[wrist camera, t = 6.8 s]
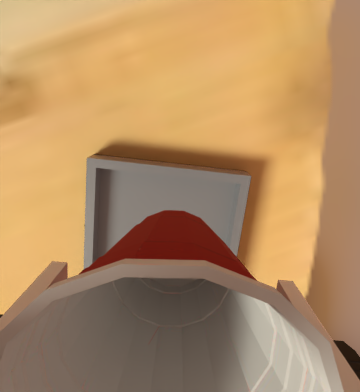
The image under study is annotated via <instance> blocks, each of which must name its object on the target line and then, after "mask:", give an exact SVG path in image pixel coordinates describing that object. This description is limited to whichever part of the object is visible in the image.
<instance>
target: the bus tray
mask: <svg viewBox="0 0 360 392" xmlns="http://www.w3.org/2000/svg"><path fill="white" fill-rule="evenodd" d="M250 181H251V175H249V174H248V173H247V172H246V171H238V170H229V169H221V168H212V167H203V166H194V165H185V164H176V163H167V162H158V161H150V160H141V159H132V158H123V157H114V156H105V155H96V154H94V155H92V156H90V157H87V174H86V208H85V242H84V269H85V268H87V267H89V266H90V265H91V264H92V263H93V262H94V261H96V260H97V259H98V258H99V257H101V256H103V255H104V254H106V253H107V252H108V251H109V250H110V249H111V248H112V247H113V246H114V245H115V244H116V243H117V242H118V241H119V240H120V239H121V238H123V237H124V236H125V235H126V234H127V233H128V232H129V231H130V230H131V229H132V228H133V227H134V226H136V225H137V224H140V223H141V222H142V221H143V220H144V219H145V218H146V217H147V216H150V215H153V214H156V213H158V212H161V211H164V210H179V211H186V212H188V213H190V214H193V215H195V216H197V217H200V218H201V219H202V220H203V221H204V222H205V223H206V224H207V225H208V226H209V227H210V228H211V229H212V230H213V231H214V232H215V233H216V234H217V235H218V236H219V237H220V238H221V239H222V240H223V241H224V243H225V244H226V245H227V246H228V247H229V248H230V250H231V251H232V252H233V253H234V254H235V256H236V257H237V253H238V247H239V242H240V236H241V231H242V225H243V220H244V214H245V208H246V203H247V197H248V192H249V186H250Z"/></svg>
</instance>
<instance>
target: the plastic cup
mask: <svg viewBox="0 0 360 392" xmlns="http://www.w3.org/2000/svg"><path fill="white" fill-rule="evenodd" d="M0 392H344V390H343V387H342V383H341V379H340V376H339V372H338V369H337V365H336V362H335V358H334V354H333V351H332V347H331V344H330V342H329V341H328V340H327V339H326V338H325V337H324V336H323V335H322V334H321V333H320V332H319V331H318V330H317V329H316V328H315V327H314V326H313V325H312V324H311V323H310V322H309V321H308V320H307V319H306V318H305V317H304V316H303V315H302V314H301V313H300V312H299V311H298V310H297V309H296V308H295V307H294V306H293V305H292V304H291V303H290V302H289V301H288V300H287V299H286V298H285V297H284V296H283V295H282V294H281V293H279V292H278V291H277V290H276V289H275V288H274V287H271V286H268V285H266V284H263V283H261V282H258V281H257V280H256V279H255V278H254V277H253V276H252V275H251V274H250V273H249V271H248V270H247V269H246V268H245V267H244V265H243V264H242V263H241V262H240V260H239V259H238V258H237V257H236V256H235V254H234V253H233V252H232V251H231V250H230V248H229V247H228V246H227V245H226V244H225V243H224V241H223V240H222V239H221V238H220V237H219V236H218V235H217V234H216V233H215V232H214V231H213V230H212V229H211V228H210V227H209V226H208V225H207V224H206V223H205V222H204V221H203V220H202V219H201V218H200V217H197V216H195V215H193V214H190V213H188V212H186V211H179V210H164V211H161V212H158V213H156V214H153V215H150V216H147V217H146V218H145V219H144V220H143V221H142V222H141V223H140V224H137V225H136V226H134V227H133V228H132V229H131V230H130V231H129V232H128V233H127V234H126V235H125V236H124V237H123V238H121V239H120V240H119V241H118V242H117V243H116V244H115V245H114V246H113V247H112V248H111V249H110V250H109V251H108V252H107V253H106V254H104V255H103V256H101V257H99V258H98V259H97V260H96V261H94V262H93V263H92V264H91V265H90V266H89V267H87V268H85V269H84V270H83V271H82V272H81V273H80V274H78V275H76V276H74V277H71V278H68V279H65V280H62V281H59V282H56V283H54V284H53V285H51V286H50V287H48V288H47V289H46V290H44V291H43V292H42V293H41V294H40V295H39V296H38V297H37V298H36V299H35V300H34V301H33V302H31V303H30V304H29V305H28V306H27V307H26V308H25V309H24V310H23V311H22V312H21V313H20V314H19V315H17V316H16V317H15V318H14V319H13V320H12V321H11V322H10V323H9V324H8V325H7V326H6V327H5V328H4V329H2V330H1V331H0Z"/></svg>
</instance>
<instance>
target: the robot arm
mask: <svg viewBox="0 0 360 392" xmlns="http://www.w3.org/2000/svg"><path fill="white" fill-rule="evenodd" d="M65 279H67V263H66V262H54V261H52V262H51V263H50V264H49V266H48V267H47V268H46V269H45V270H44V271H43V272H42V273H41V274H40V275H39V276H38V278H37V279H36V280H35V281H34V282H33V283H32V284H31V285H30V286H29V287H28V288H27V290H26V291H25V292H24V293H23V294H22V295H21V296H20V297H19V298H18V299H17V300H16V302H15V303H14V304H13V305H12V306H11V307H10V308H9V309H8V310H7V311H6V312H5V314H4V315H0V331H1V330H2V329H4V328H5V327H6V326H7V325H8V324H9V323H10V322H11V321H12V320H13V319H14V318H15V317H16V316H17V315H19V314H20V313H21V312H22V311H23V310H24V309H25V308H26V307H27V306H28V305H29V304H30V303H31V302H33V301H34V300H35V299H36V298H37V297H38V296H39V295H40V294H41V293H42V292H43V291H44V290H46V289H47V288H48V287H50V286H51V285H53V284H54V283H56V282H59V281H62V280H65ZM276 290H277V291H278V292H279V293H281V294H282V295H283V296H284V297H285V298H286V299H287V300H288V301H289V302H290V303H291V304H292V305H293V306H294V307H295V308H296V309H297V310H298V311H299V312H300V313H301V314H302V315H303V316H304V317H305V318H306V319H307V320H308V321H309V322H310V323H311V324H312V325H313V326H314V327H315V328H316V329H317V330H318V331H319V332H320V333H321V334H322V335H323V336H324V337H325V338H326V339H327V340H328V341H329V342H330V344H331V347H332V351H333V354H334V358H335V362H336V365H337V369H338V372H339V376H340V379H341V383H342V387H343V390H344V392H360V357H359V356H358V354H357V353H356V351H355V350H353V349H352V348H351V347H350V346H348V345H347V344H346V343H345V342H344V341H335V340H334V341H333V340H332V339H331V337H330V336H329V334H328V333H327V331H326V330H325V328H324V327H323V325H322V324H321V322H320V321H319V319H318V318H317V316H316V315H315V313H314V312H313V310H312V309H311V307H310V306H309V304H308V303H307V301H306V300H305V298H304V297H303V296H302V294H301V293H300V291H299V290H298V288H297V287H296V285H295V284H294V282H293V281H285V280H278V283H277V289H276Z"/></svg>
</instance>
